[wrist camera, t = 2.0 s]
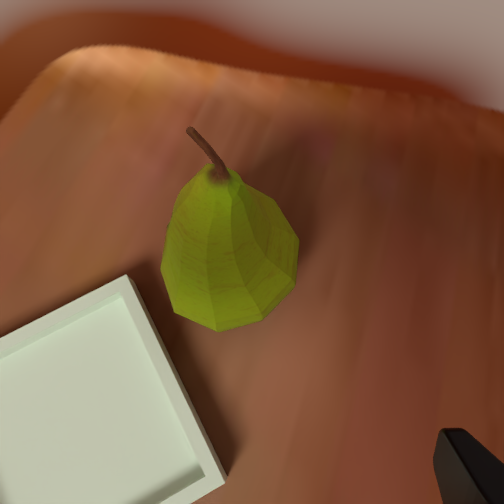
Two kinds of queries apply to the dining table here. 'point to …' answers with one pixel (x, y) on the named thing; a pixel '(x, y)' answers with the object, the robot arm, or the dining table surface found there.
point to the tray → (99, 410)
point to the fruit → (226, 249)
